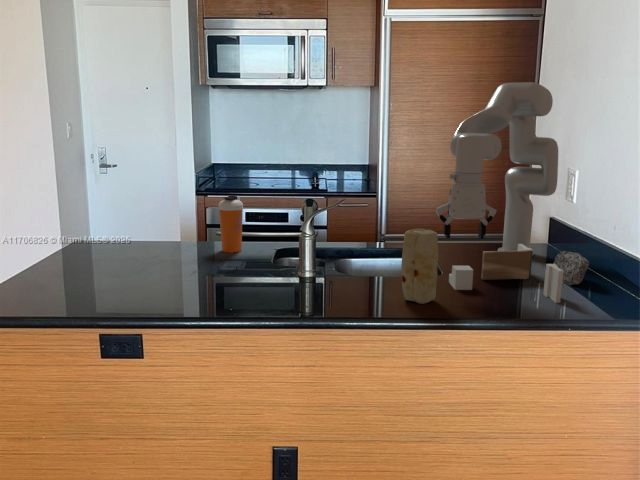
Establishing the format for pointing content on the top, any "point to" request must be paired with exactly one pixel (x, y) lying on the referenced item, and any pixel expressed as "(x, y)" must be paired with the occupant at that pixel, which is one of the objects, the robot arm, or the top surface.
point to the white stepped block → (461, 277)
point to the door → (506, 265)
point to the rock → (571, 267)
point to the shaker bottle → (231, 223)
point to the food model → (419, 265)
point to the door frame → (550, 279)
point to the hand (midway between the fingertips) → (464, 237)
